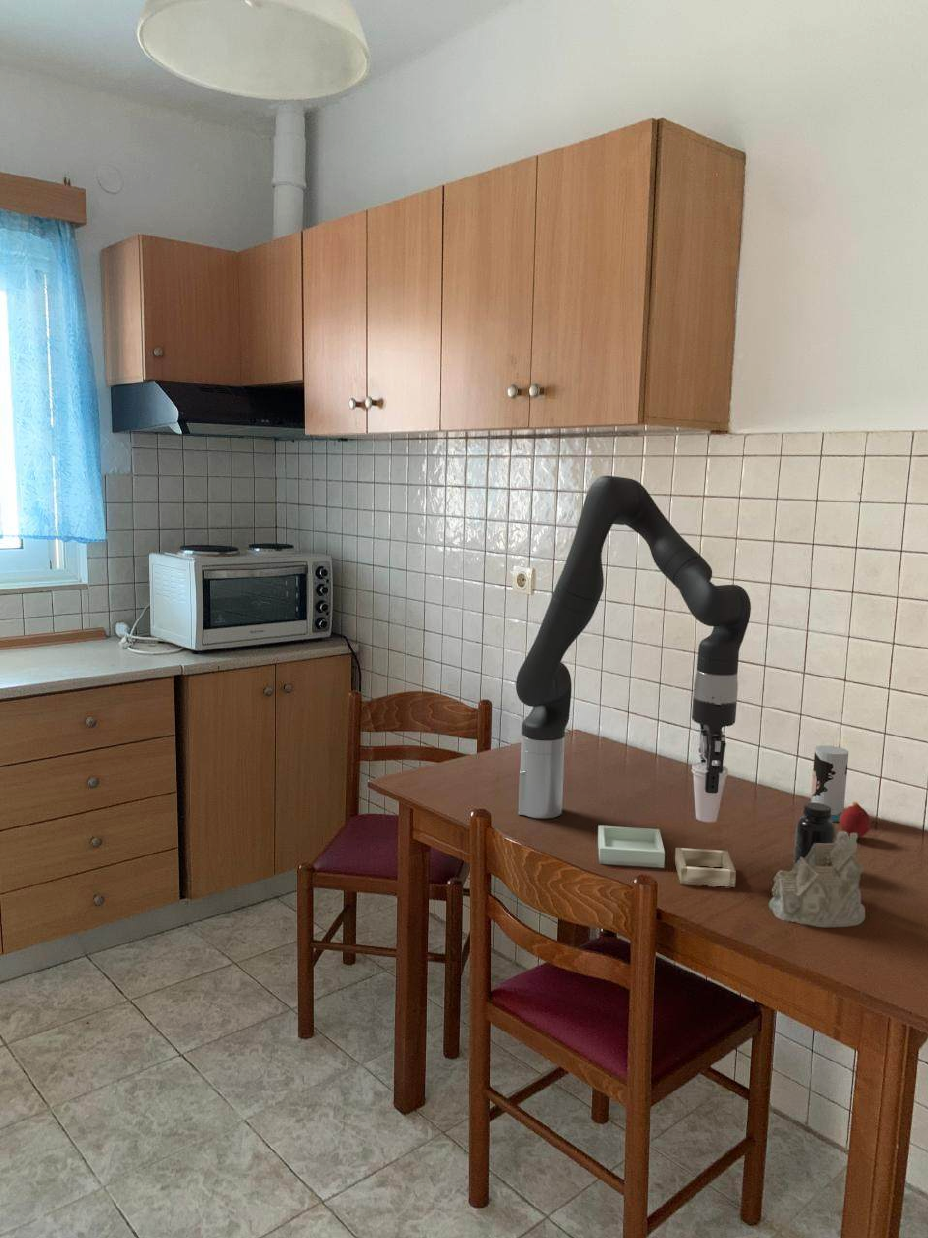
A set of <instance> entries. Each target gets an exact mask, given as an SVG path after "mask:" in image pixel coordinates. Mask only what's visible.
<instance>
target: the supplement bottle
mask: <svg viewBox="0 0 928 1238" xmlns="http://www.w3.org/2000/svg"><path fill="white" fill-rule="evenodd" d="M802 815H803V816H801V817H799V819H798V820H797V822H796V827H795V828H796V829H795V841H794V851H793V852H794V853H793V866H794V865H795V864H796V863H797V861H798V860H800V857H803V858H805V857H806V856H807V855H808V853H809V852H810V851H811V848H812V846H813V845H814V843H835V840H836V838H835V836H836V826H835V823H834V822H831V821H830V820H829V819H831V807H829V806H827V805H825V804H821V803H813V802H812V803H811V802H806V803H804V805H803V811H802Z"/></svg>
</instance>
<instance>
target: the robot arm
mask: <svg viewBox="0 0 928 1238" xmlns="http://www.w3.org/2000/svg"><path fill="white" fill-rule="evenodd" d="M613 525H619V526H627V527H629V528H630V529H631V530H632V531H635V532H636V533H637V534H639V535H640V537H642V539H644V541H645V542H646V543H647V544H646V545H648V547H649V551H650V554H651V557H652V559H653V562H654V563H655V565H656V566H657V568H658V569H659V570H660V571H661V573H662V574H663V575H664V576H665V577H666V578H667V579H668V580H669V581H670V582H671V583H672V585H674V586H675V588H677V589H678V591H679V593H680V595H681V597H682V599H683V601H684V603H685V605H686V606H687V608H688V610H689V612H690V614H691V615H692V616H693V617H694V618H695V619H696V620H697V621H699V622H700V623H701V624H702V625H705V626H707V627H708V626H709V627H713V629H712V631H711V633H710V634H709V635H708V636H707V637H705V638H703V639H702V640H700V642H699V644H698V648H697V659H696V673H695V677H694V682H693V683H694V684H693V696H692V711H691V712H692V713H691V719H692V721H693V722H694V723H696V724H697V725H699V726H700V729H699V743H698V746H699V747H698V752H699V759H700V763H702V762H706V768H705V770H706V781H705V791H706V792H707V793H715V794H716V793H718V786H719V773H723V766H724V762H725V754H726V753H725V749H726V746H727V742H726V735H725V734H724V731H723V728H724V727H731V726H733V725H734V724H735V723H736V718H737V717H736V716H737V703H738V702H737V701H738V690H739V687H738V685H739V681H738V671H739V670H738V669H739V656H740V655H739V654H740V649H741V646H742V643H743V641H744V638H745V635H746V633H747V632H746V631H747V628H748V625H749V624H750V623H749V622H750V617H751V613H752V603H751V599H750V595H749V593H748V592H747V591H746V589H745V588H743V587H741V586H740V585H738V584H724V585H715V584H714V583H713V582H711V579H712V577H713V569H712V567H711V566H710V564H709V563H708V562H707V560H705V559H704V558H703V556H701V555H700V553H698V552H697V551H696V550H695V549H694V548H693V547H692V545H690V544H689V543H688V542H687V541H686V540H685V539H684V538H683V537H682V536H681V535H680V534H679V532H678V531H677V530H676V529H675V528H674V527H673V525H672V524H671V523H670V521H669V520H668V518H667V517H666V516H665V515H664V513H663V512H662V511H661V509H660V508H659V506H658V504H656V502H655V500H654V499H653V498H652V496H651V495H650V494H649V491H647V489H646V487H644V485H643V484H642V483H640V482H639V481H638V480H636V479H633V478H629V477H622V476H615V475H601V476H600V477H598V478H597V479H595V480H594V481H593V483H592V484H591V485H590V487H589V489H588V490H587V493H586V496H585V499H584V502H583V505H582V509H581V513H580V515H579V520H578V523H577V527H576V531H575V533H574V534H575V535H574V538H573V541H572V542H571V546H570V549H569V552H568V554H567V557H566V560H565V562H564V566H563V569H562V571H561V572H560V575H559V578H558V580H557V583H556V585H555V587H554V590H553V593H552V596H551V599H550V602H549V605H548V607H547V610H546V612H545V615H544V617H543V619H542V621H541V625H540V627H539V629H538V632H537V635H536V637H535V639H534V642H533V644H532V646H531V648H530V649H529V651H528V653H527V655H526V657H525V658H524V661H523V662H522V665H521V667H520V668H519V671H518V673H517V675H516V676H517V677H516V681H515V689H516V695H517V697H518V698H519V700H520V701H521V703H522V704H524V705H525V706H527V707H532V709H531V711H530V712H529V714H528V715H527V716H526V717H525V718H524V720H523V721H522V723H521V743H520V744H521V745H520V746H521V747H520V750H521V751H520V770H519V789H518V790H519V791H518V815H521V816H526V817H529V818H533V819H553V818H556V817H558V816H560V815H562V813H563V794H564V793H563V792H564V791H563V788H564V785H563V784H564V764H565V763H564V762H565V760H564V759H565V758H564V757H565V736H566V735H565V734H566V733H565V732H566V727H567V726H568V723H569V720H570V711H571V699H572V689H573V688H572V678H571V672H570V671H569V669H568V667H567V666H566V664H564V662H562V659H563V658H564V655H565V654H566V652H567V651H568V649H569V648H570V646H571V645H572V644H573V643H574V642H575V640H576V639H577V638H578V637H579V636H580V634H581V633H582V632H583V631H584V630H585V628H586V627H587V626H588V624H589V623H590V621H591V620H592V618H593V616H594V614H595V612H596V610H597V607H598V605H599V603H600V600H601V598H602V594H603V592H604V585H605V583H604V582H605V579H604V577H605V576H604V570H603V569H604V568H603V558H602V556H603V549H604V546H605V542H606V539H607V537H608V534H609V532H610V530H611V528H612V526H613ZM713 760H715V762H716V764H717V766H713V765H712V761H713Z"/></svg>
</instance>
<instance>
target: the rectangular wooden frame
mask: <svg viewBox="0 0 928 1238" xmlns="http://www.w3.org/2000/svg"><path fill="white" fill-rule="evenodd" d="M674 852H675V853H674V855H675V856H674V865H675V867H676V872H677V877H678V879H679V883H680V885H686V886H687V885H689V886H701V885H708V886H707V887H716V886H726V887H725V888H728V887H727V886H730V887H735V888H736V875H737V870H736V869H735V866H734V864H733V861H732V860H731V857H730V854H729V852H728V850H717V849H716V850H715V849H704V848H703V849H702V848H686V847H685V848H684V847H675V851H674ZM686 865H687V866H686ZM699 866H709V867H699ZM714 867H722V868H714ZM730 887H729V888H730Z"/></svg>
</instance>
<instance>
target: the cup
mask: <svg viewBox="0 0 928 1238" xmlns="http://www.w3.org/2000/svg"><path fill="white" fill-rule="evenodd" d="M848 760H849V750H848V749H846V748H843V747H839V746H834V745H817V746H815V748H814V755H813V769H812V770H813V771H812V781H811V782H812V783H811V784H812V785H811V793H810V794H811V795H810V803H812V802H813V803H821V804H825V805H827V806H829V807H831V819H829V820H830V821H831V822H833V823H838V822H840V815H841V814H842V812H843V811H844V810H845V808H844V806H845V798H846V788H847V787H846V785H847V775H848V774H847V773H848V763H849V762H848Z"/></svg>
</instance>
